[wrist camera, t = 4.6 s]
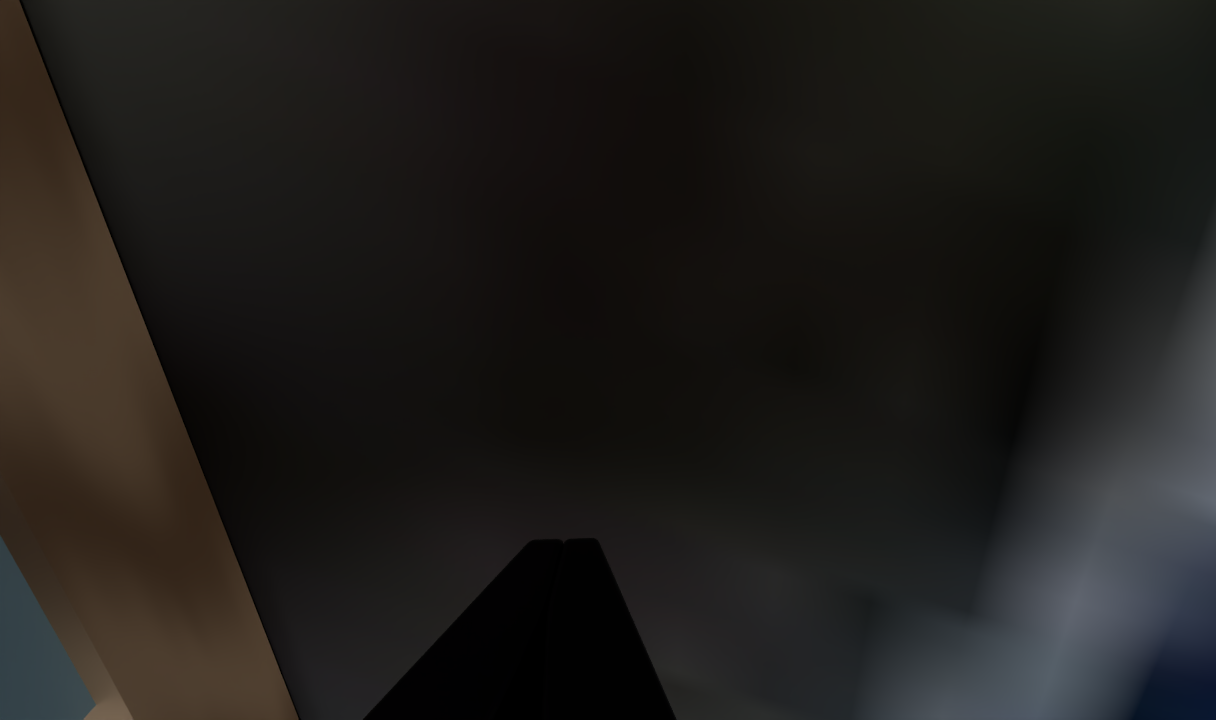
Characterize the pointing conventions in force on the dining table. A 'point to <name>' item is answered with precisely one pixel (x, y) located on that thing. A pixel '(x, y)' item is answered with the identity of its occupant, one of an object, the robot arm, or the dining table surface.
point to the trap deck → (106, 448)
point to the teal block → (33, 657)
